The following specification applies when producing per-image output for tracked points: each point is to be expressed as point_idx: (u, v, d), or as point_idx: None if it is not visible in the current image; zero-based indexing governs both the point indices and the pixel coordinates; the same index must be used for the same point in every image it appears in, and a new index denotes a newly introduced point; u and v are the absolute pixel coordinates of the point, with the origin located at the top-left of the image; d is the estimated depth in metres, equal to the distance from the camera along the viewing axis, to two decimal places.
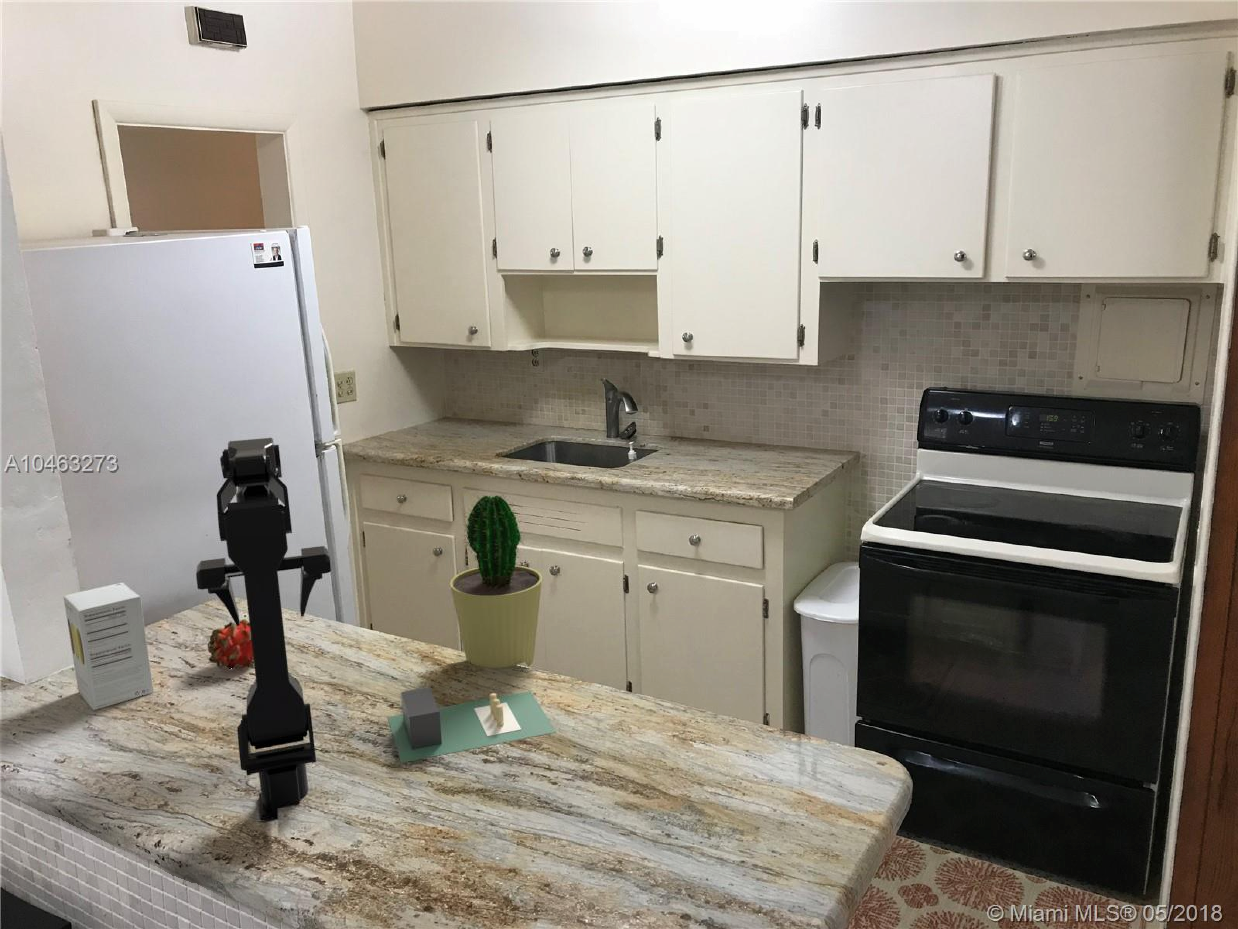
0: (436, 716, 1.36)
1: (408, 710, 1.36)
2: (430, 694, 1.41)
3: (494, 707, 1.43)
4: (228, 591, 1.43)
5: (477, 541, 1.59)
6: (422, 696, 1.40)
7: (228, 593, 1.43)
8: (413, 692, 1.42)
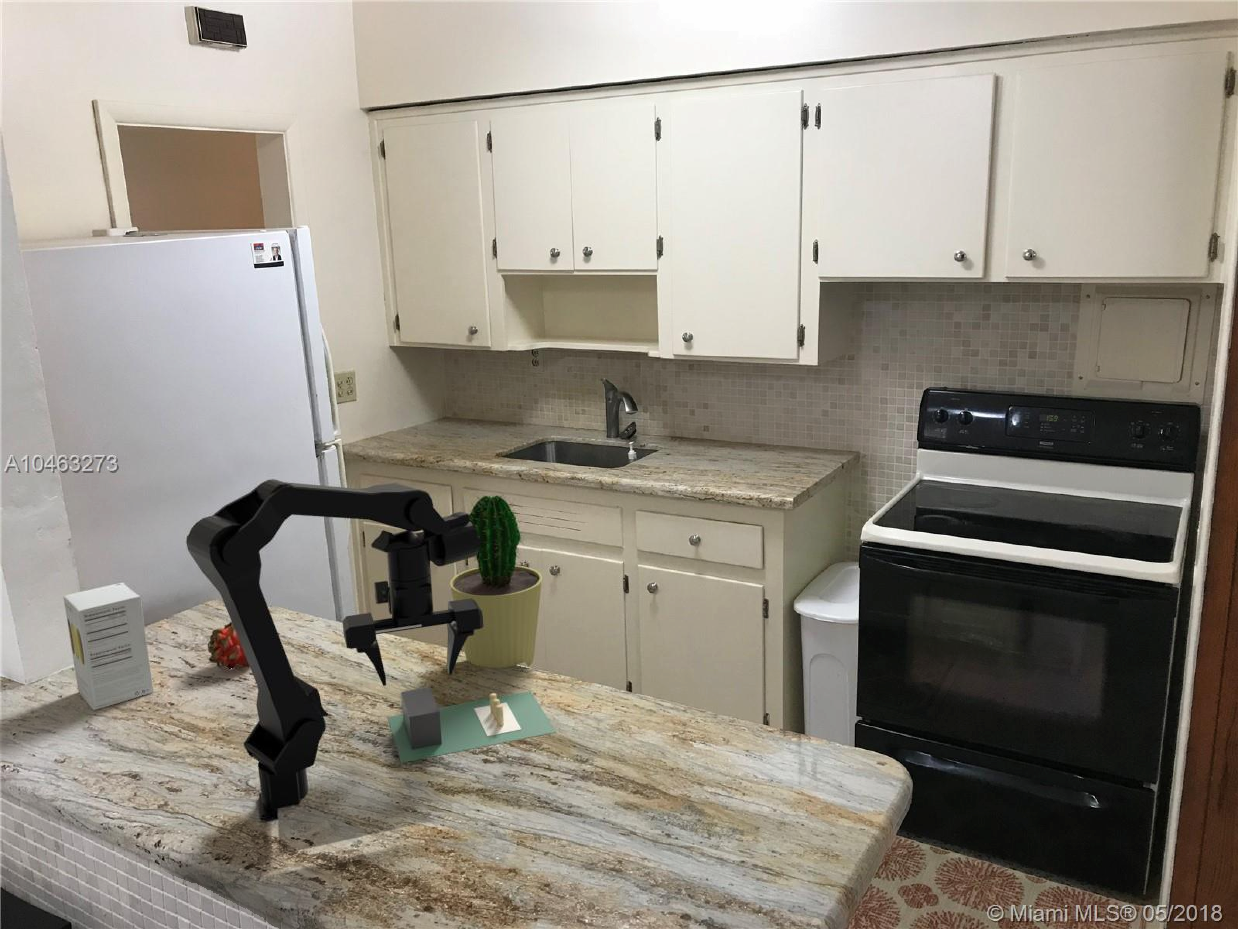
0: (436, 716, 1.36)
1: (408, 710, 1.36)
2: (430, 694, 1.41)
3: (494, 707, 1.43)
4: (378, 650, 1.32)
5: None
6: (422, 696, 1.40)
7: (378, 652, 1.32)
8: (413, 692, 1.42)
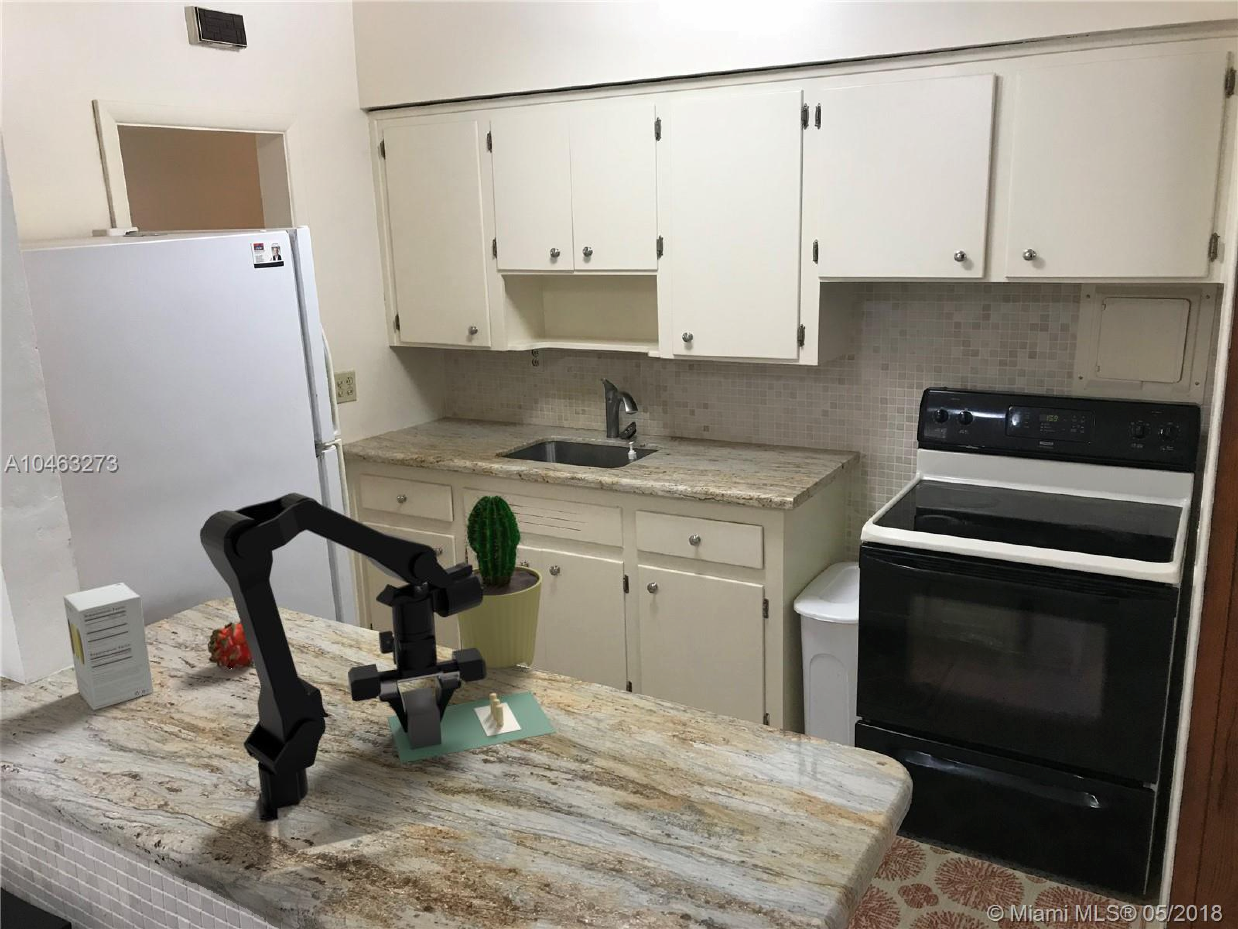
0: (436, 716, 1.36)
1: (408, 710, 1.36)
2: (430, 694, 1.41)
3: (494, 707, 1.43)
4: (400, 699, 1.35)
5: (477, 541, 1.59)
6: (422, 696, 1.40)
7: (400, 701, 1.35)
8: (413, 692, 1.42)
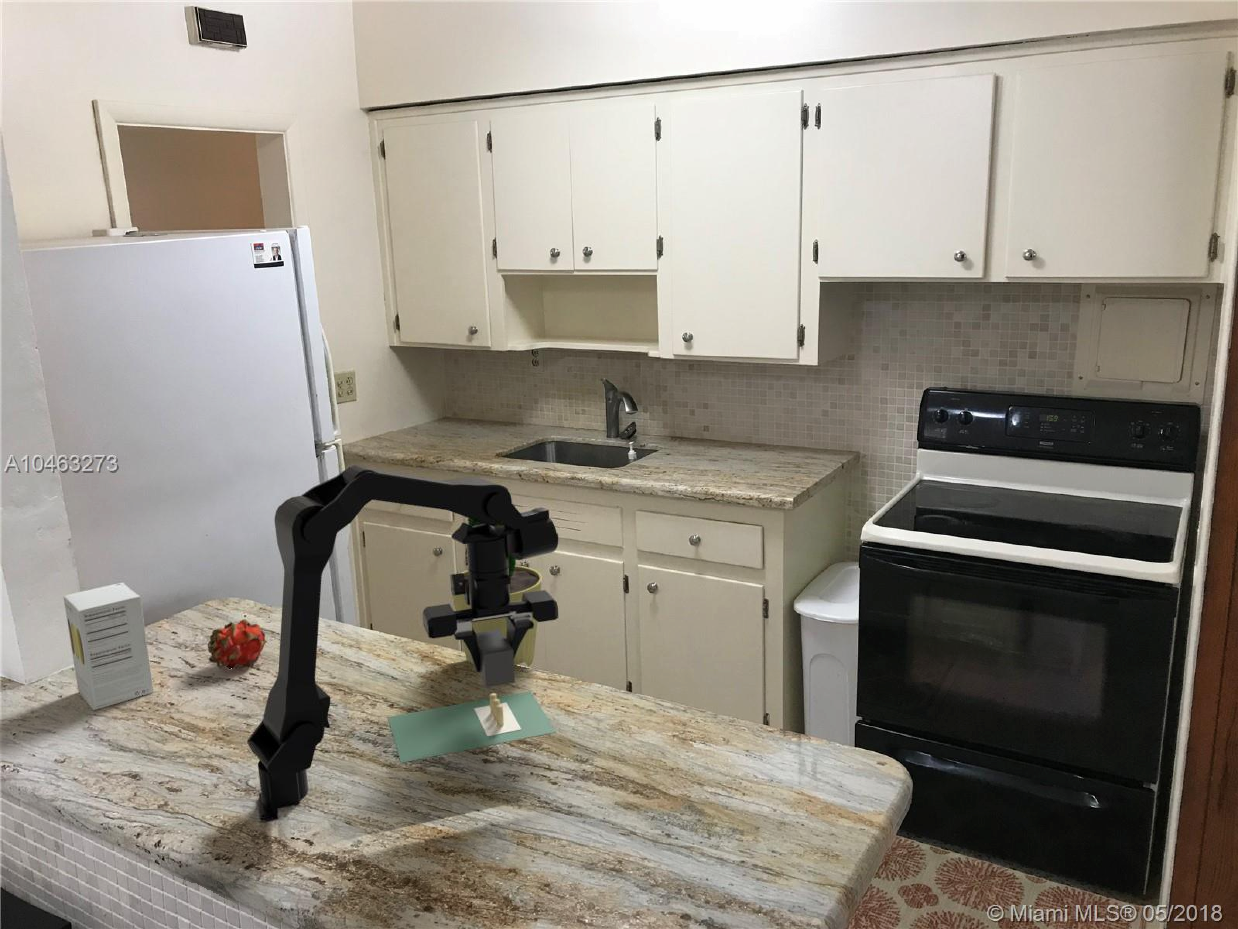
0: (510, 654, 1.38)
1: (482, 648, 1.38)
2: (501, 635, 1.43)
3: (494, 707, 1.43)
4: (475, 637, 1.37)
5: None
6: (493, 637, 1.42)
7: (475, 639, 1.37)
8: (484, 633, 1.44)
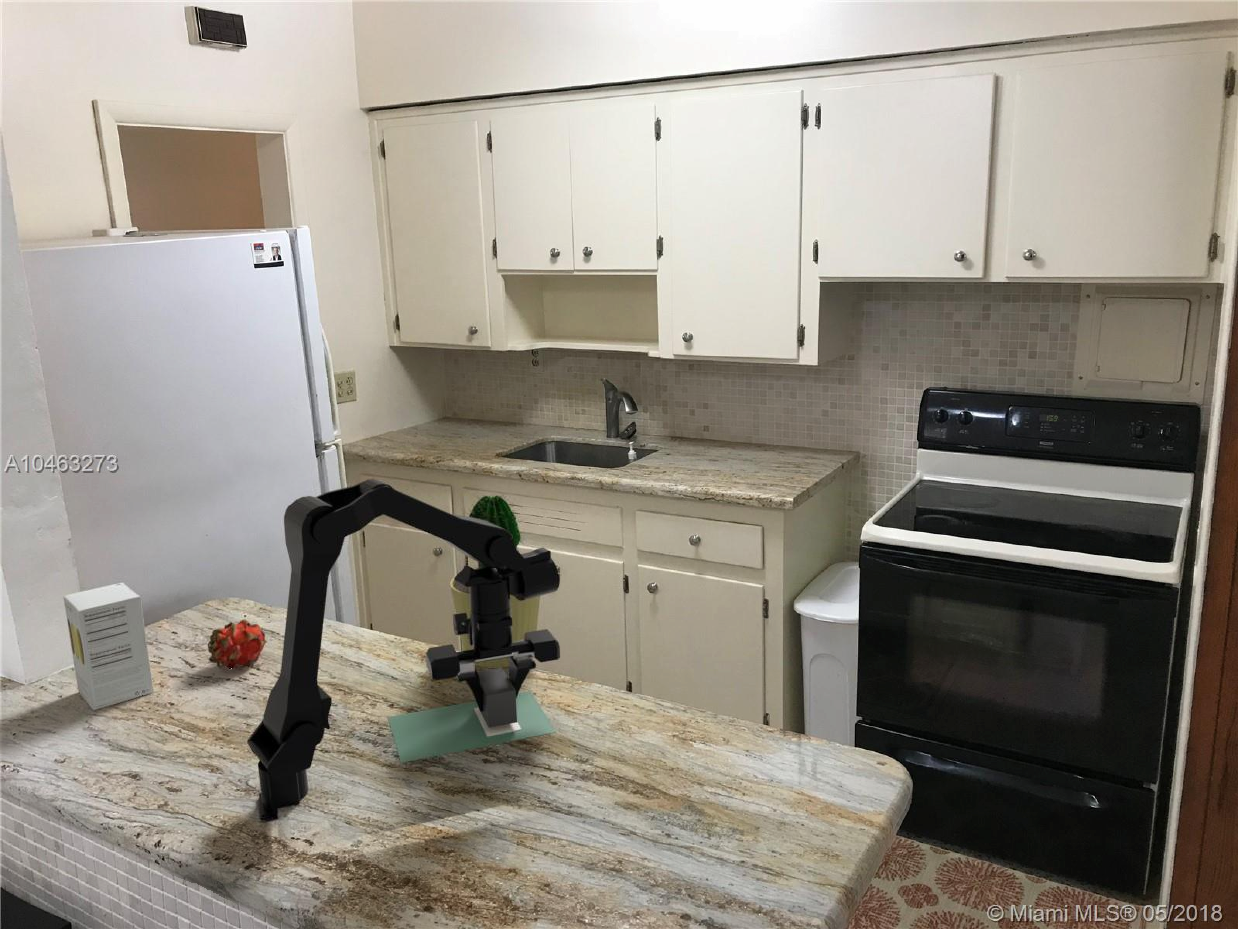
0: (512, 695, 1.39)
1: (484, 689, 1.40)
2: (503, 674, 1.44)
3: None
4: (478, 678, 1.38)
5: None
6: (496, 676, 1.44)
7: (477, 680, 1.38)
8: (486, 672, 1.45)
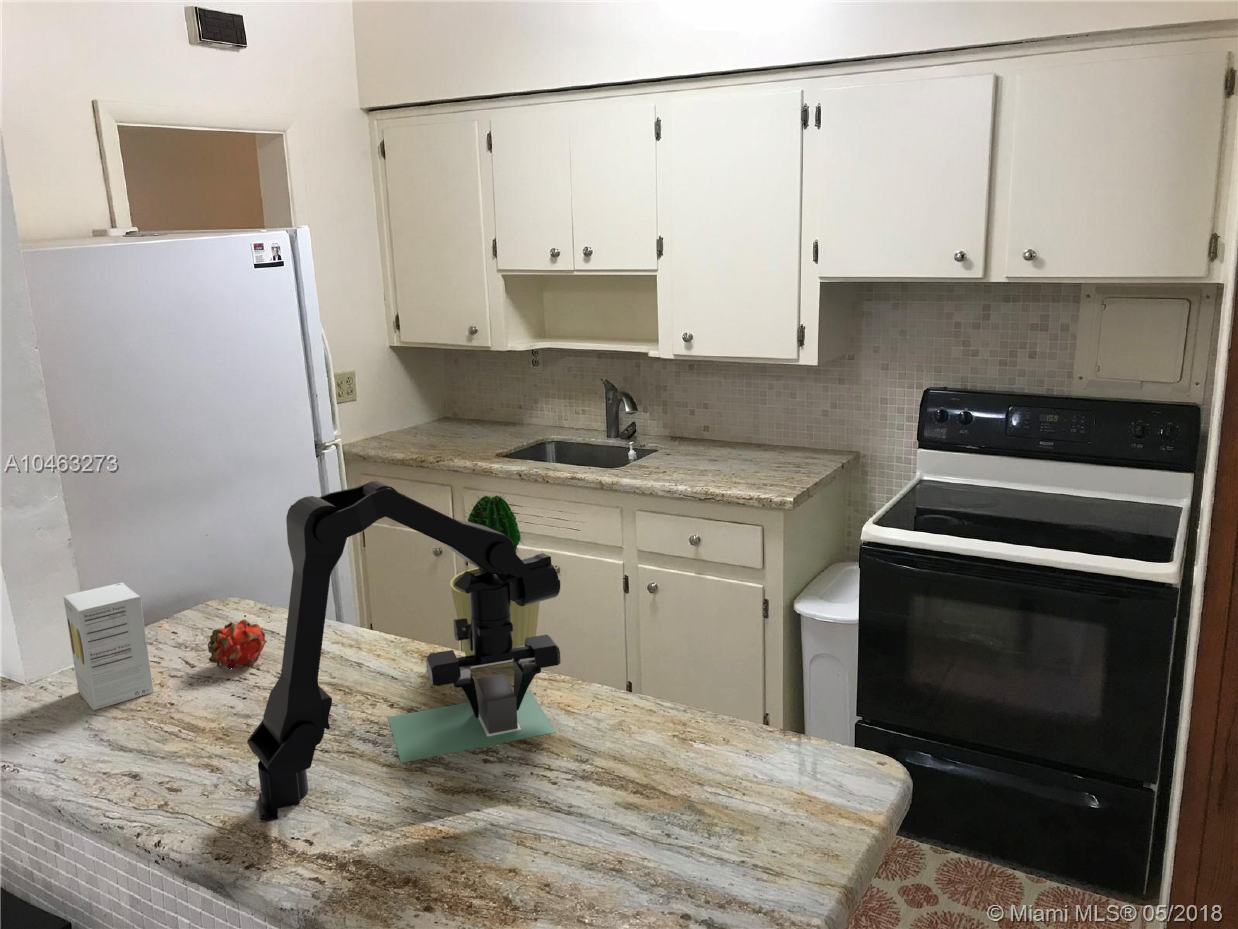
0: (513, 701, 1.39)
1: (485, 695, 1.40)
2: (504, 680, 1.45)
3: None
4: (473, 685, 1.38)
5: None
6: (496, 682, 1.44)
7: (473, 686, 1.38)
8: (487, 678, 1.45)
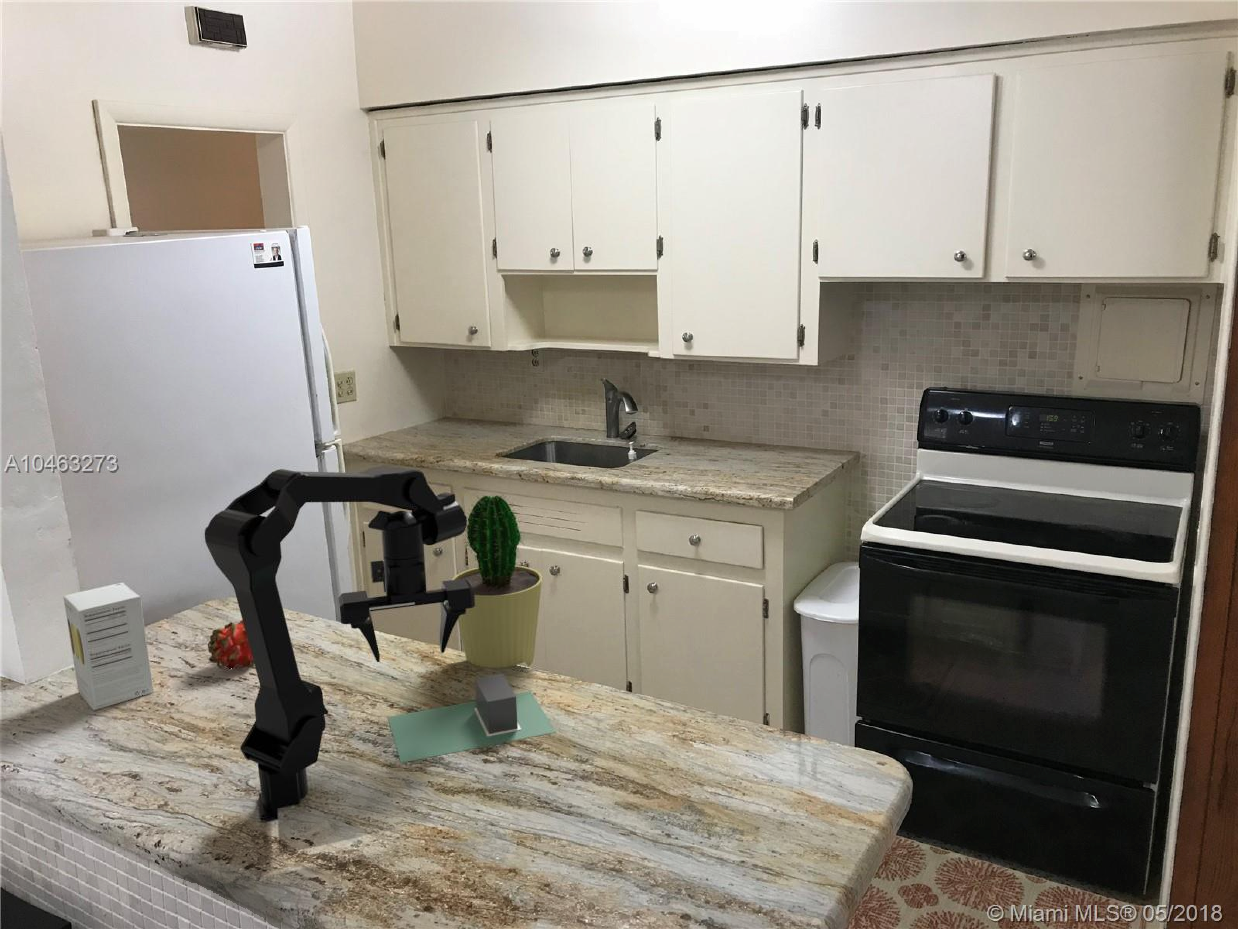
0: (513, 701, 1.39)
1: (485, 695, 1.40)
2: (504, 680, 1.45)
3: None
4: (372, 626, 1.36)
5: (477, 541, 1.59)
6: (496, 682, 1.44)
7: (371, 628, 1.36)
8: (487, 678, 1.45)
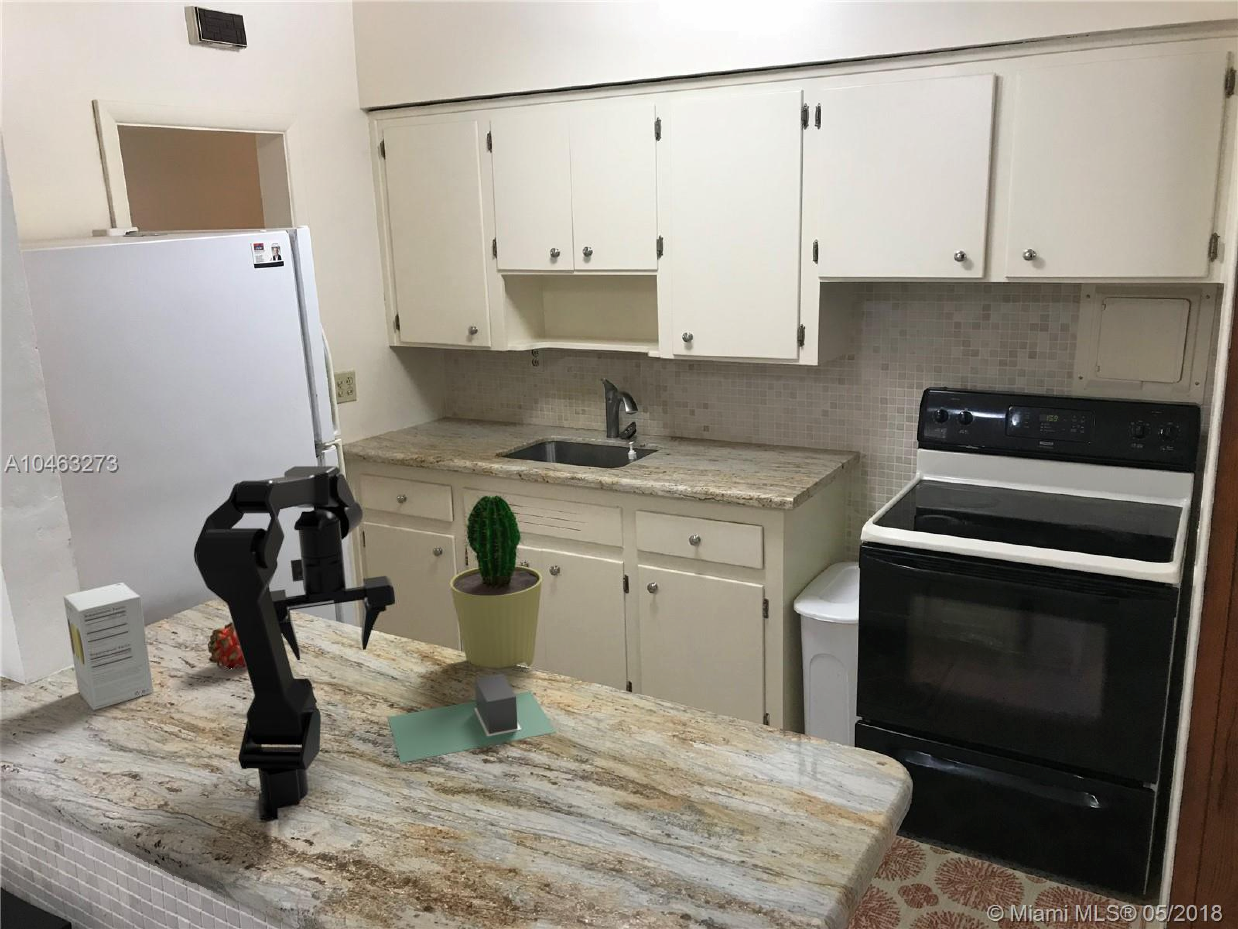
0: (513, 701, 1.39)
1: (485, 695, 1.40)
2: (504, 680, 1.45)
3: None
4: (290, 625, 1.36)
5: (477, 541, 1.59)
6: (496, 682, 1.44)
7: (290, 627, 1.37)
8: (487, 678, 1.45)
